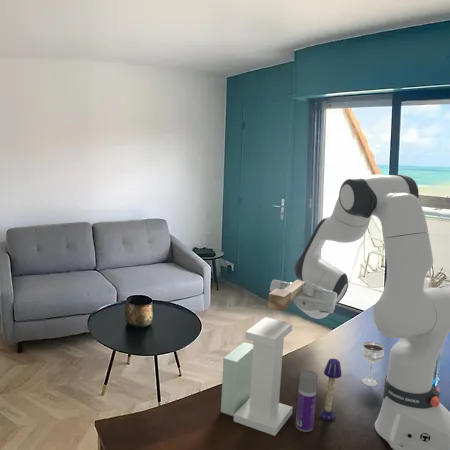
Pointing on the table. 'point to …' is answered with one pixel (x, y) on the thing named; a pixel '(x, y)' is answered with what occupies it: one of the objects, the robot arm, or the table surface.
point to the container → (306, 401)
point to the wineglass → (372, 358)
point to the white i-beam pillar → (266, 378)
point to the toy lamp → (330, 388)
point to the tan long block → (285, 295)
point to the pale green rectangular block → (236, 378)
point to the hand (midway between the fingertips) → (296, 287)
